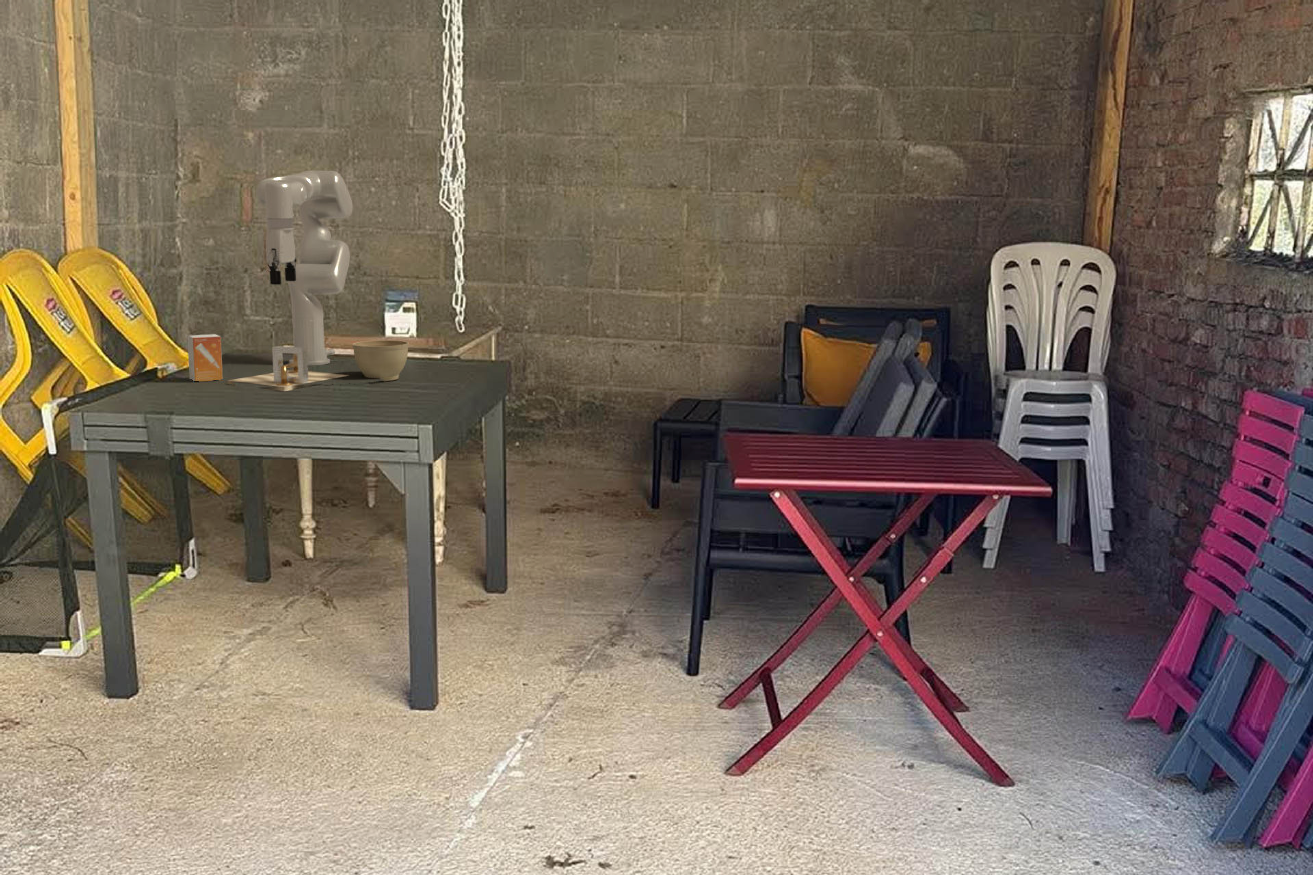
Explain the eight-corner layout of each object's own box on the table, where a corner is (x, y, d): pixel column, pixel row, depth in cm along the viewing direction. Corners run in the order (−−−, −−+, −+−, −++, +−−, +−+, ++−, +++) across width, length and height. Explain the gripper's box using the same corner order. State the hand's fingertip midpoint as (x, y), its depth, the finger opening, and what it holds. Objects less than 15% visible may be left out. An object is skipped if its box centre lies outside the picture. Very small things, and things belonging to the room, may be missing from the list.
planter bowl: (405, 374, 387) (404, 339, 385) (413, 382, 372) (412, 345, 370) (351, 376, 382) (349, 340, 380) (356, 384, 367) (355, 347, 365)
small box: (194, 382, 368) (192, 337, 366) (189, 379, 373) (186, 335, 371) (223, 380, 373) (221, 335, 370) (217, 377, 378) (215, 333, 375)
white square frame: (278, 381, 364) (277, 346, 362) (308, 382, 363) (306, 347, 361) (273, 382, 361) (272, 347, 359) (303, 383, 360) (302, 348, 358)
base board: (294, 373, 387) (294, 369, 387) (349, 379, 377) (349, 375, 376) (227, 384, 365) (227, 380, 364) (284, 391, 354) (284, 386, 354)
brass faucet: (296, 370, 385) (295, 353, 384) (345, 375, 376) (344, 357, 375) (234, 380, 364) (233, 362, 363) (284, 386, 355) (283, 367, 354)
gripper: (281, 222, 386) (284, 279, 390) (254, 226, 369) (257, 285, 373) (304, 223, 385) (307, 280, 388) (278, 226, 368) (282, 286, 372)
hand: (283, 282), depth 381 cm, fingers open, 9 cm apart
